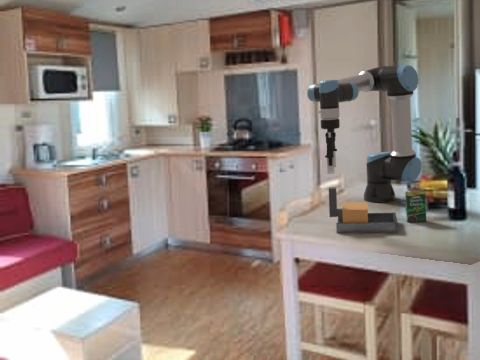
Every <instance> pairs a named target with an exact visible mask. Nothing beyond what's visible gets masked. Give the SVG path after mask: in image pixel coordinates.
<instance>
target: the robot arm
mask: <svg viewBox="0 0 480 360" xmlns="http://www.w3.org/2000/svg"><path fill="white" fill-rule="evenodd" d="M418 85H419V74H418V72H417V70H416V69H415V68H414V66H412V65H408V64H397V65H382V66H377V67H374V68H371V69H367V70H364V71H360V72H359V73H358V74H355V75H352V76H348V77H344V78H340V79H339V78H338V79H326V80H325V79H324V80H323V79H322V80H320V82H319V83H315V84H310V85H309V86H308V88H307V92H306V95H307V98H308V100H309V101H311V102H316V103H318V102H319V104H320V105H319V109H320V110H319V111H318V114H320V119H321V120H320V128H321V129H322V130H327V131H326V132H325V136H324V137H325V143H326V155H325V156H324V157H325V158H326V169H327V174H331V175H332V174H335V168H336V167H337V163H336V162H337V160H336V159H337V157H336V155H337V154H336V152H338V148H336V132H335V129H340V126H341V125H340V103H346V102H351V101H355V100H356V99H357V98H358V97H359V93H360V92H364V93H369V92H386V97H387V98H388V99H390V112H391V113H390V114H391V130H392V131H391V134H392V151H382V152H381V151H380V152H373V153H370V154H369V155H367V156H366V162H365V163H366V187H365V190H364V193H363V200H364V201H366V202H369V203H370V202H371V203H388V202H392V201H395V200H396V193H395V189H394V187H393V185H392V181H398V182H403V183H406V182H407V183H411V182H415V181H416V180H417V179H418V178H419V176H420V174H421V171H422V165H423V164H422V161H421V159H420V158H419V157H417V155H416V154H417V152H416V151H415V150H414V149H413V138H412V137H413V136H412V135H413V134H412V111H411V110H412V109H411V97H412V96H413V95H414V91H417V88H418Z"/></svg>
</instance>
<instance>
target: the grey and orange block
mask: <svg viewBox="0 0 480 360" xmlns="http://www.w3.org/2000/svg"><path fill="white" fill-rule="evenodd" d="M337 197H338V196H337V187H336V186H335V187H332V186H331V187H328V207H329V208H328V209H329V210H328V212H329V217H330V218H338V217H339V216H343V223H368V213H369V210H368V206H369V205H368V201H366V202H365V201H364V202H358V201H357V202H355V201H354V202H343V203H342V208H338V200H337Z"/></svg>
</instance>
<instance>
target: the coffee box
mask: <svg viewBox="0 0 480 360" xmlns="http://www.w3.org/2000/svg"><path fill="white" fill-rule="evenodd" d="M404 196H405V217H406V219H405V220H406V222H407V223H424V222H427V201H426V200H427V199H426V197H427V196H426V191H425V189H423V190H408V191H405V194H404Z"/></svg>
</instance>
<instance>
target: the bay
mask: <svg viewBox="0 0 480 360" xmlns="http://www.w3.org/2000/svg"><path fill="white" fill-rule="evenodd" d="M335 224H336V225H335V226H336V228H335V229H336V233H337V234H398V233H399V226H398V225H399V222H398V218H397V214H396V212H368V223H343V216H339V217H337V222H336V223H335Z"/></svg>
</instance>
